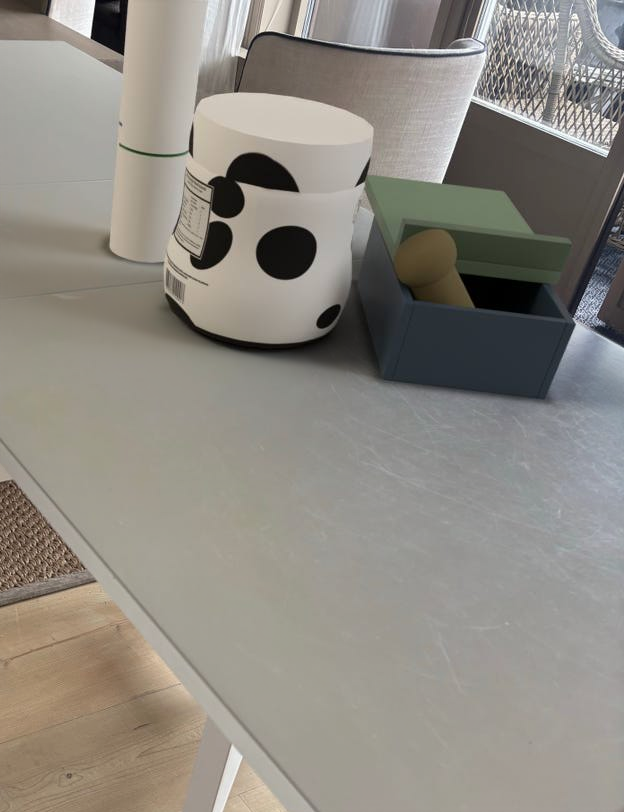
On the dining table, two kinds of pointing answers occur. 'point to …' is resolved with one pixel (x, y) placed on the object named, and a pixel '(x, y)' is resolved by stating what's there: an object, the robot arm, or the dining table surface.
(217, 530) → the dining table surface
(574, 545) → the dining table surface
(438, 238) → the brown pawn
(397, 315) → the bin
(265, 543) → the dining table surface
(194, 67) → the cylindrical container
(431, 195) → the bin lid
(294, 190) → the milk container
